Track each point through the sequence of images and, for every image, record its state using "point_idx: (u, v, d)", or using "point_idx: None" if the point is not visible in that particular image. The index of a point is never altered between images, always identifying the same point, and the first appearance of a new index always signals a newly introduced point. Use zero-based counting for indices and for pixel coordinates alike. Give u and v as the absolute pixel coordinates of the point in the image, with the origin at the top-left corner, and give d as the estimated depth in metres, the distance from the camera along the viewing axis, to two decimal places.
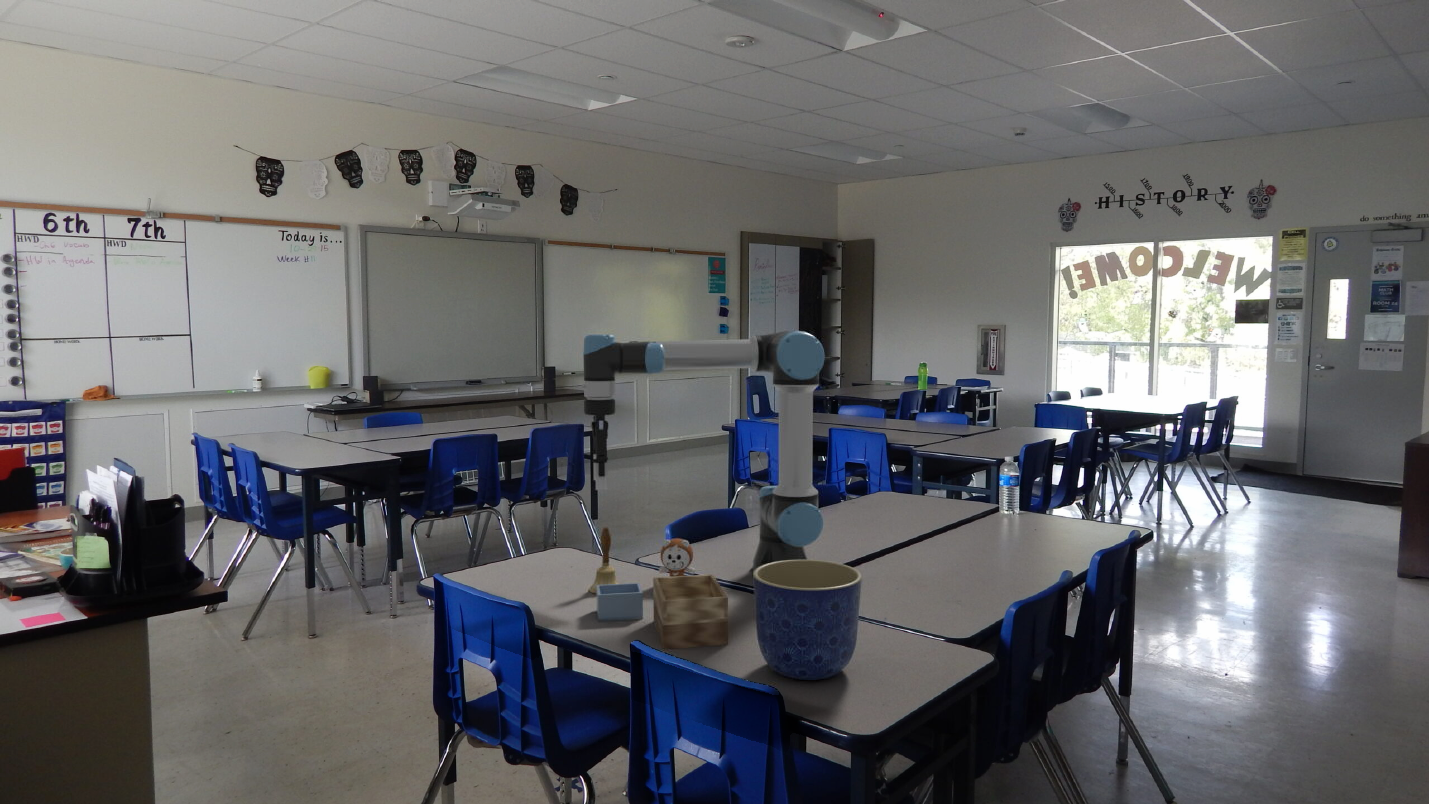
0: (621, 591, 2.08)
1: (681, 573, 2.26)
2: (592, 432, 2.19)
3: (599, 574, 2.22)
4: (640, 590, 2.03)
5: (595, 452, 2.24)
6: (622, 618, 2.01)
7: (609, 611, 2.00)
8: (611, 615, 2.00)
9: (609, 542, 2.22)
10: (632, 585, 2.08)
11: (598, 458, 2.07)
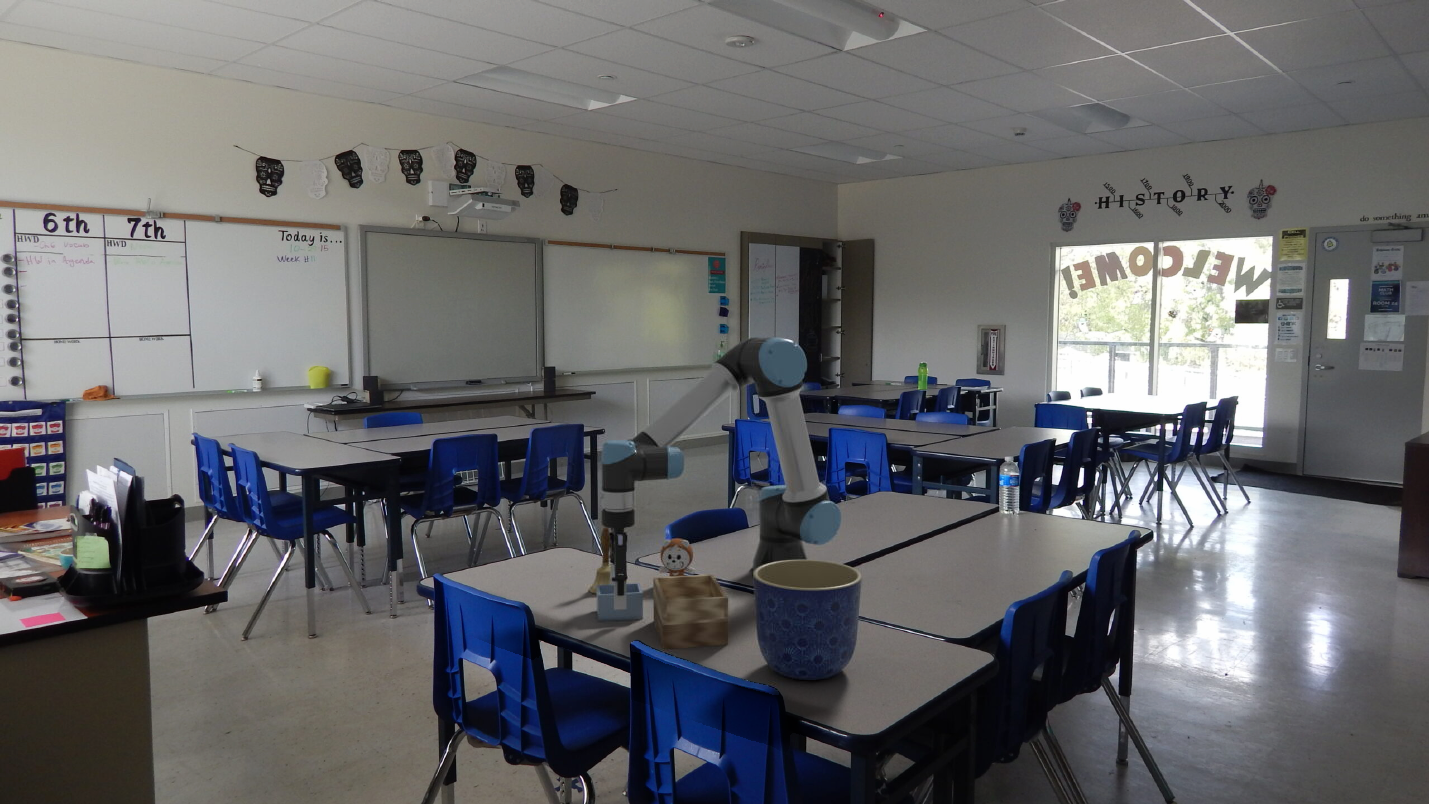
0: None
1: (681, 573, 2.26)
2: None
3: (599, 574, 2.22)
4: (640, 590, 2.03)
5: (612, 562, 2.11)
6: (622, 618, 2.01)
7: (609, 611, 2.00)
8: (611, 615, 2.00)
9: (609, 542, 2.22)
10: (632, 585, 2.08)
11: (617, 577, 1.94)
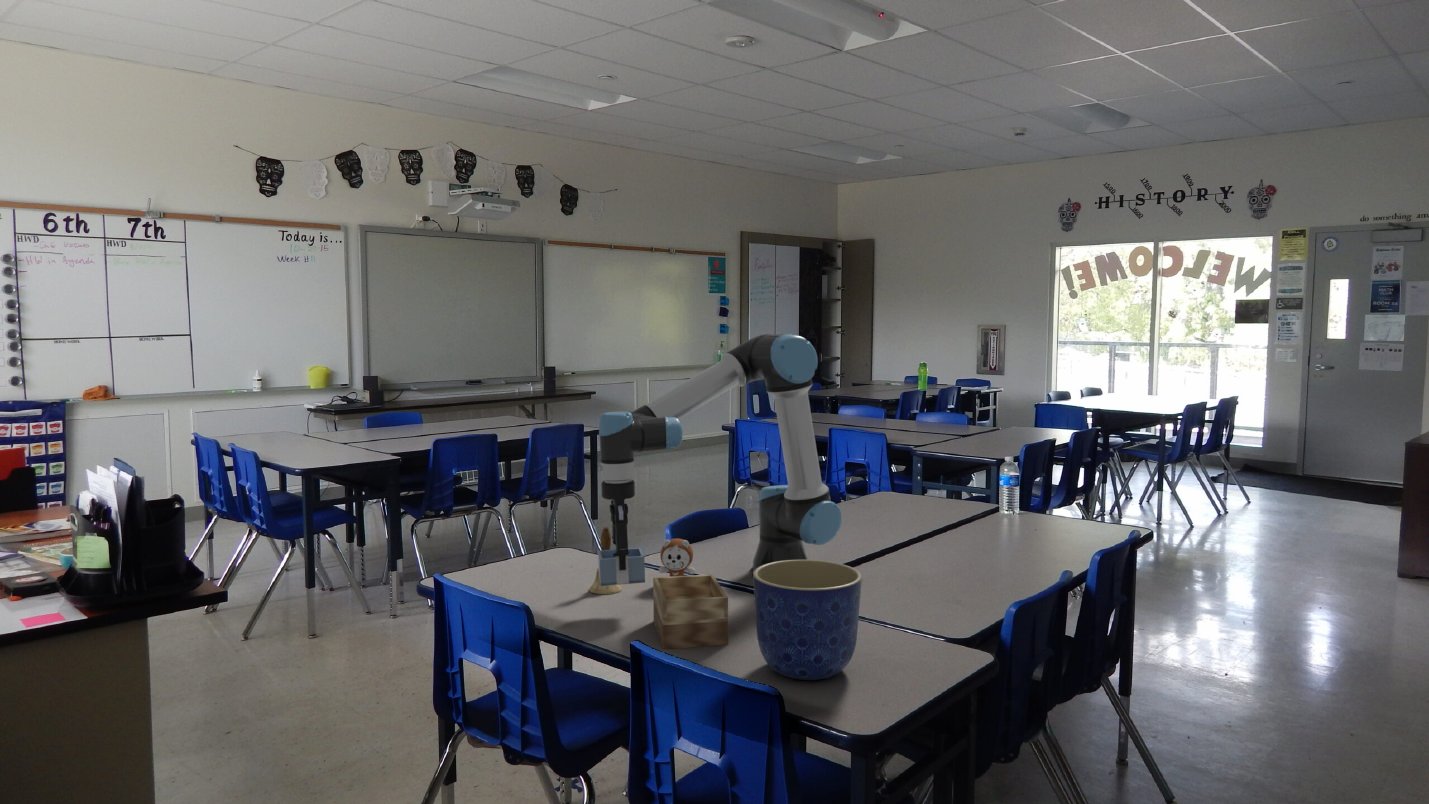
0: None
1: (681, 573, 2.26)
2: (611, 517, 2.04)
3: None
4: (642, 554, 2.02)
5: (615, 543, 2.08)
6: None
7: (611, 575, 2.00)
8: (613, 579, 2.00)
9: (609, 542, 2.22)
10: (633, 550, 2.08)
11: (619, 553, 1.96)
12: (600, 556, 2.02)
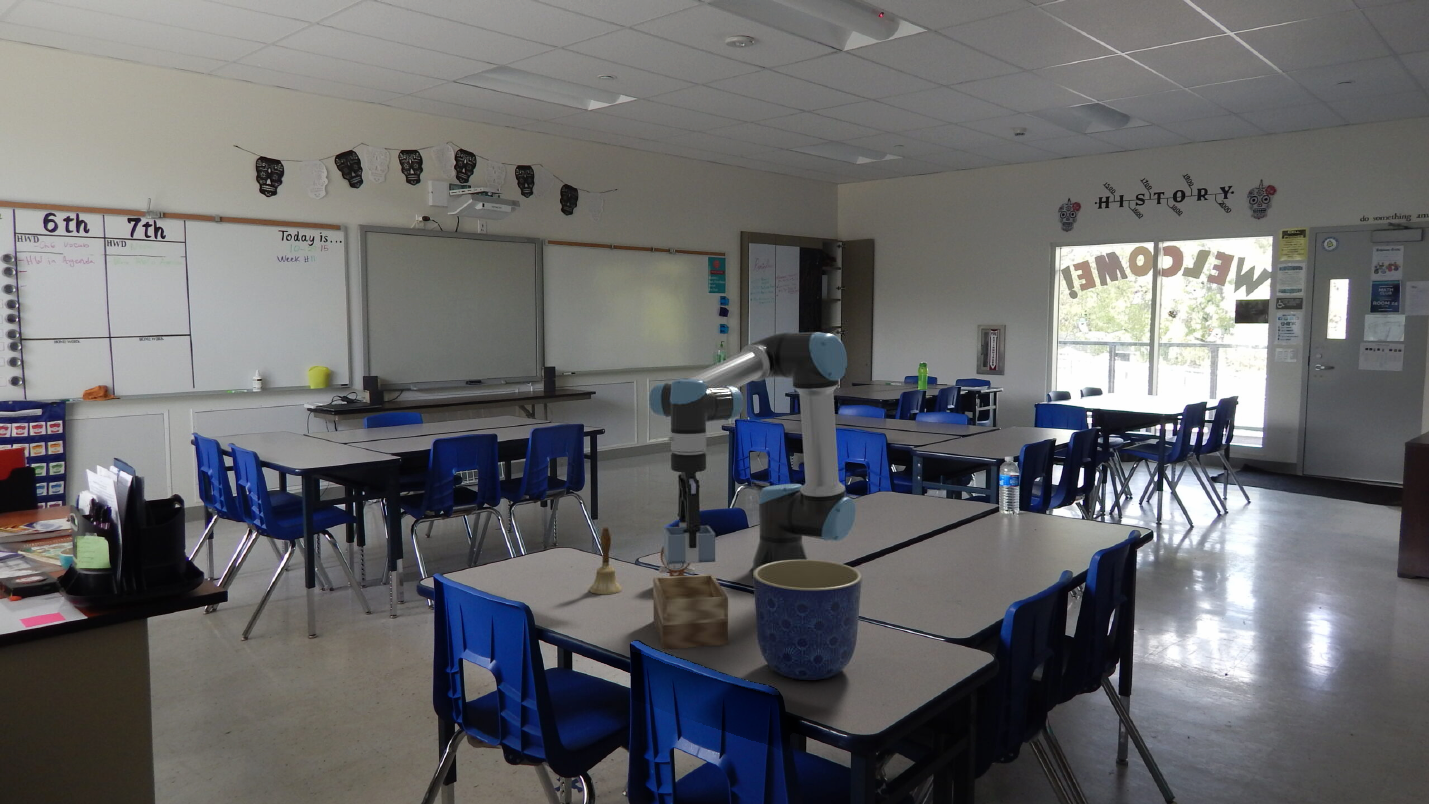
0: None
1: (681, 573, 2.26)
2: (679, 492, 1.91)
3: (599, 574, 2.22)
4: (712, 532, 1.89)
5: (681, 520, 1.95)
6: None
7: (680, 553, 1.87)
8: (682, 558, 1.87)
9: (609, 542, 2.22)
10: (701, 528, 1.95)
11: (690, 529, 1.83)
12: (668, 533, 1.88)
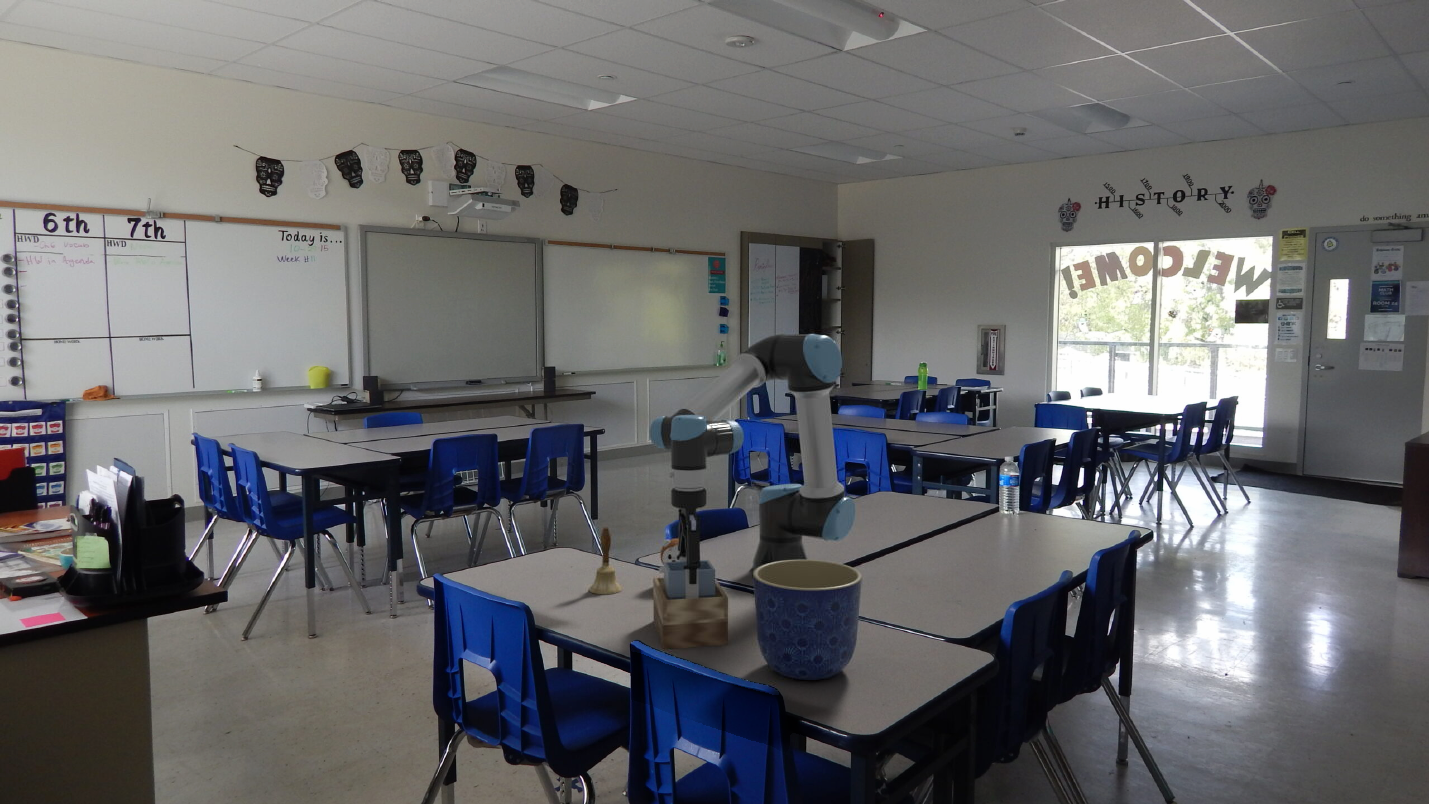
0: None
1: None
2: (679, 527, 1.92)
3: (599, 574, 2.22)
4: (712, 567, 1.90)
5: (681, 555, 1.95)
6: None
7: (680, 589, 1.87)
8: (682, 593, 1.87)
9: (609, 542, 2.22)
10: (701, 563, 1.95)
11: (690, 566, 1.83)
12: (668, 568, 1.89)
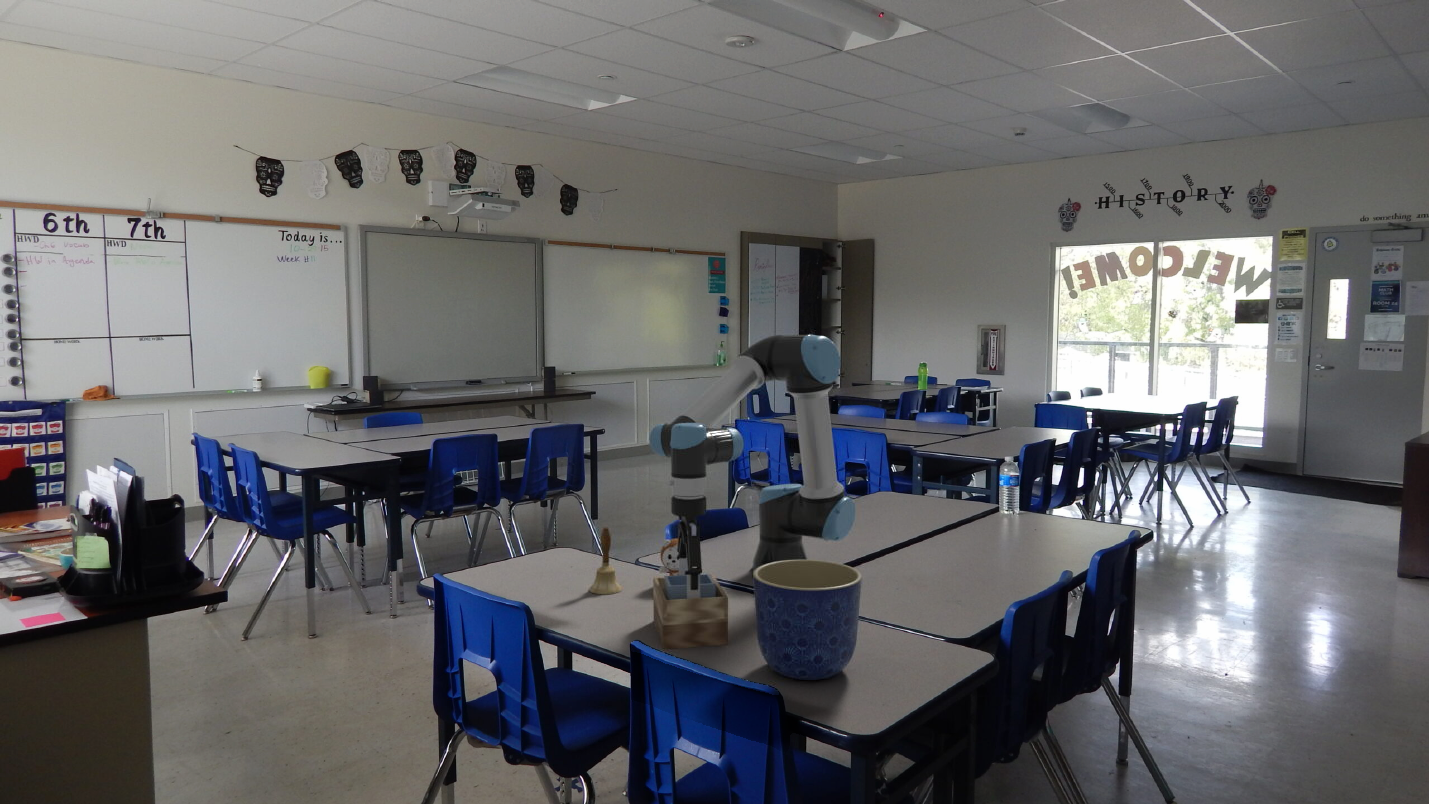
0: None
1: None
2: (679, 533, 1.93)
3: (599, 574, 2.22)
4: (712, 581, 1.90)
5: (681, 556, 1.97)
6: None
7: None
8: None
9: (609, 542, 2.22)
10: (701, 576, 1.96)
11: (692, 571, 1.82)
12: (668, 582, 1.89)
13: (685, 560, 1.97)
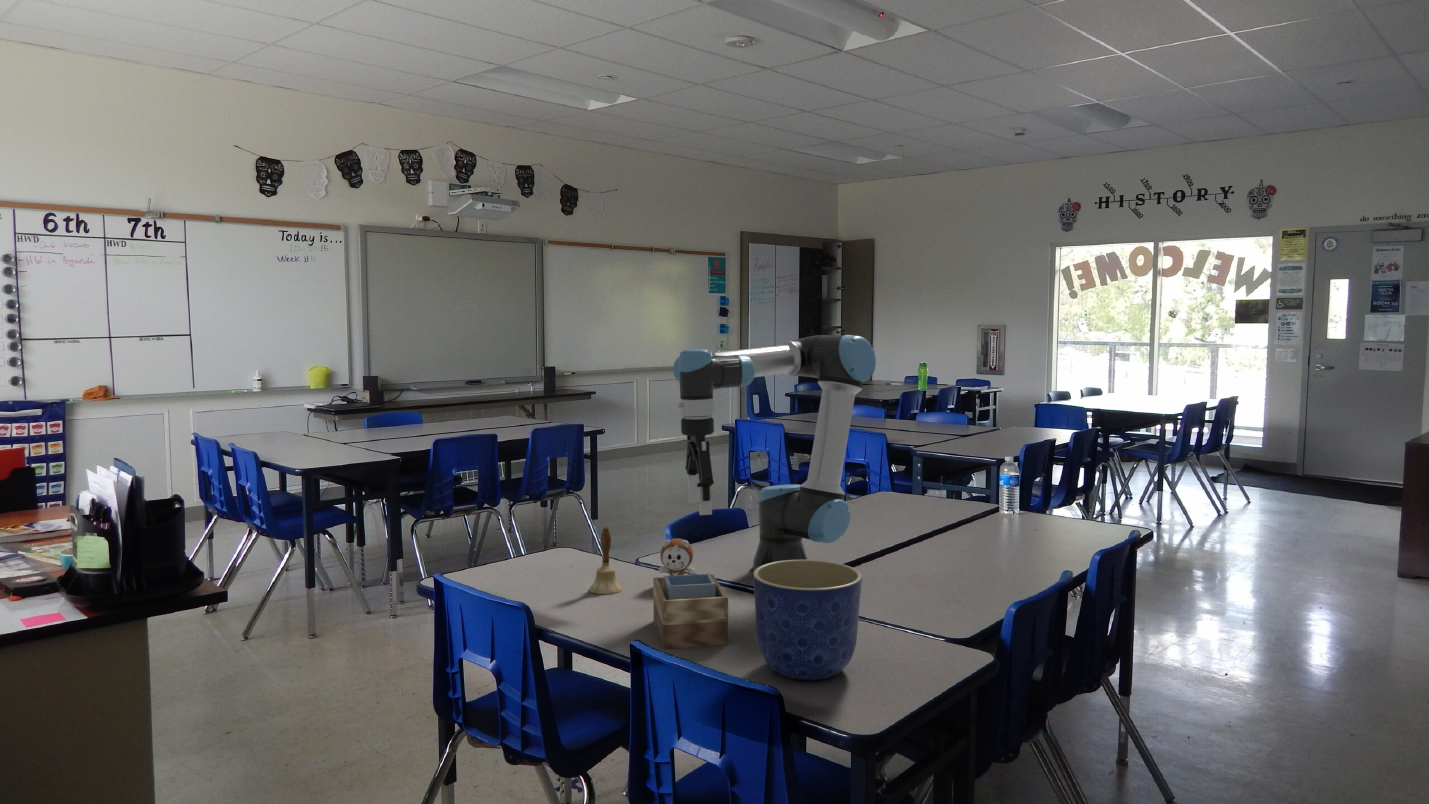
0: (690, 582, 1.95)
1: (681, 573, 2.26)
2: (688, 453, 2.06)
3: (599, 574, 2.22)
4: (712, 581, 1.90)
5: (689, 473, 2.12)
6: None
7: None
8: None
9: (609, 542, 2.22)
10: (701, 576, 1.96)
11: (704, 482, 1.95)
12: (668, 582, 1.89)
13: (694, 476, 2.11)
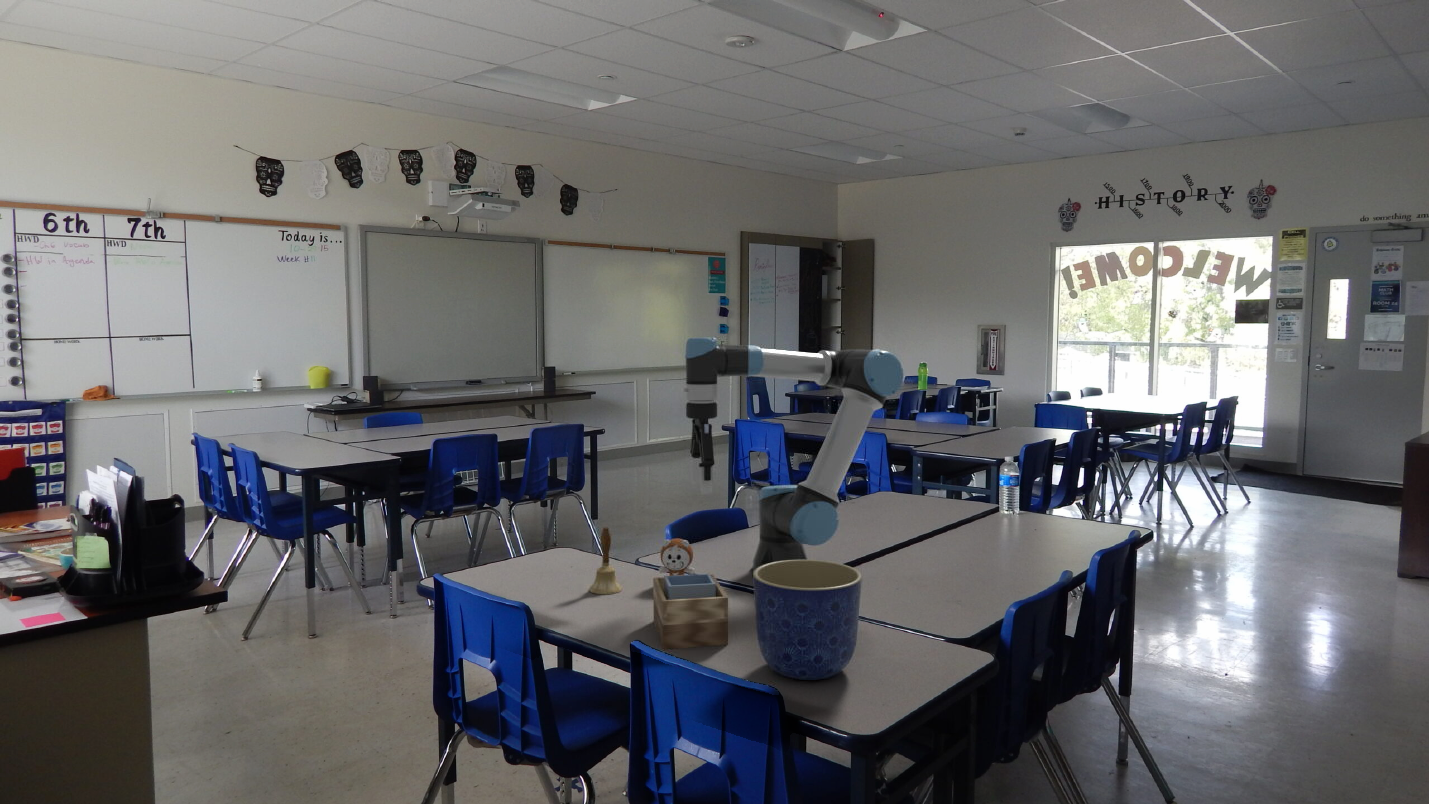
0: (690, 582, 1.95)
1: (681, 573, 2.26)
2: (693, 436, 2.17)
3: (599, 574, 2.22)
4: (712, 581, 1.90)
5: (693, 456, 2.22)
6: None
7: None
8: None
9: (609, 542, 2.22)
10: (701, 576, 1.96)
11: (705, 462, 2.05)
12: (668, 582, 1.89)
13: (697, 459, 2.22)
